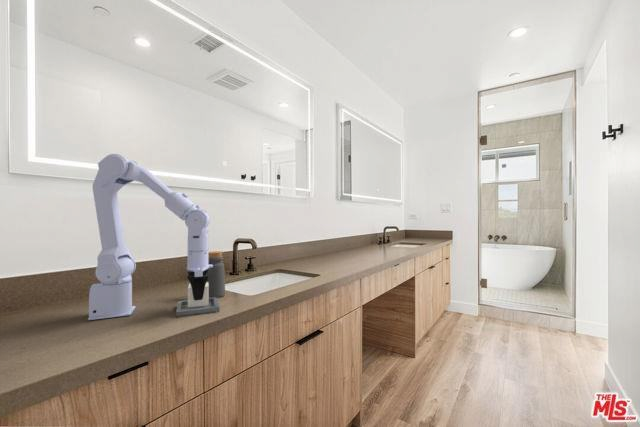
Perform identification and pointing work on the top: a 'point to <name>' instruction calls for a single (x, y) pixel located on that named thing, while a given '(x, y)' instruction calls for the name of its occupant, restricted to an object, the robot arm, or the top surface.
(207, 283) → the ceramic cube
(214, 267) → the bottle
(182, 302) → the slate tray
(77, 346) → the top surface
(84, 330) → the top surface
